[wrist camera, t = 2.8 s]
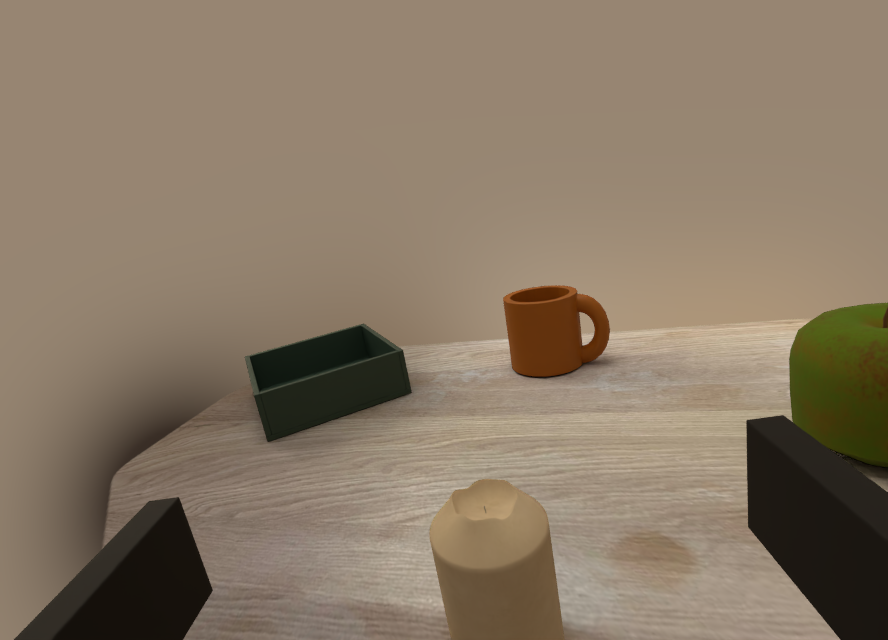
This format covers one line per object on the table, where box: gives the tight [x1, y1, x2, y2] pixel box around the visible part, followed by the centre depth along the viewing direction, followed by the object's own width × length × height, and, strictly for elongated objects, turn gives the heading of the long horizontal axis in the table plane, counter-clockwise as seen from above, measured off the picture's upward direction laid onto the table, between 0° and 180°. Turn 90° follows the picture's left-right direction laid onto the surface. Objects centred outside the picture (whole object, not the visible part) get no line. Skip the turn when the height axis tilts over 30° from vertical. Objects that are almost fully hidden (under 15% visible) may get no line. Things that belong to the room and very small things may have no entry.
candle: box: [430, 479, 564, 640], centre depth 24 cm, size 6×6×10 cm
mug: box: [503, 286, 610, 376], centre depth 60 cm, size 9×12×9 cm
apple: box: [789, 303, 888, 468], centre depth 36 cm, size 11×11×11 cm
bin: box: [245, 324, 412, 442], centre depth 65 cm, size 17×17×6 cm
